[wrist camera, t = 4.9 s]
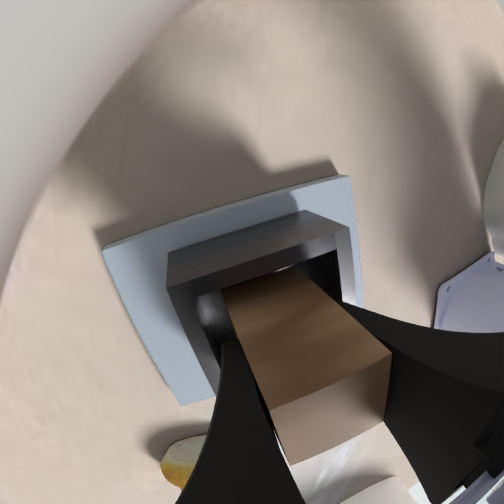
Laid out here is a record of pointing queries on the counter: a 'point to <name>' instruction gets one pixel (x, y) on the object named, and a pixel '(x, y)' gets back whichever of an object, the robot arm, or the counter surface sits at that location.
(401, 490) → the canister
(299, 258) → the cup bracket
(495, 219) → the lumpy-topped squat cylinder
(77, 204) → the counter surface
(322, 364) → the brown rectangular block
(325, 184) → the mounting board
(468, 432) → the robot arm
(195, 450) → the bread roll
